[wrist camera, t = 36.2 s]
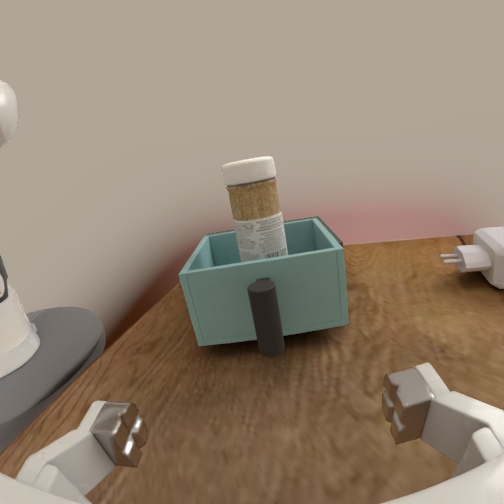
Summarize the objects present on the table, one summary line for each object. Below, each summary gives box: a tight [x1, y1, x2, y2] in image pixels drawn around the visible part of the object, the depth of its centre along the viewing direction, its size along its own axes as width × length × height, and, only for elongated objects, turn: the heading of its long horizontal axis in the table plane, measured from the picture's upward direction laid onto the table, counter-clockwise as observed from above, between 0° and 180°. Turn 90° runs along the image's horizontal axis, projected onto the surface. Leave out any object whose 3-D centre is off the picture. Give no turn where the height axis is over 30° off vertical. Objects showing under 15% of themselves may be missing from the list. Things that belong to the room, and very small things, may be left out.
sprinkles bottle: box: [222, 157, 288, 262], centre depth 29 cm, size 5×5×13 cm
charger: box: [440, 227, 504, 289], centre depth 27 cm, size 5×9×15 cm
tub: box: [179, 218, 348, 357], centre depth 28 cm, size 13×16×7 cm
